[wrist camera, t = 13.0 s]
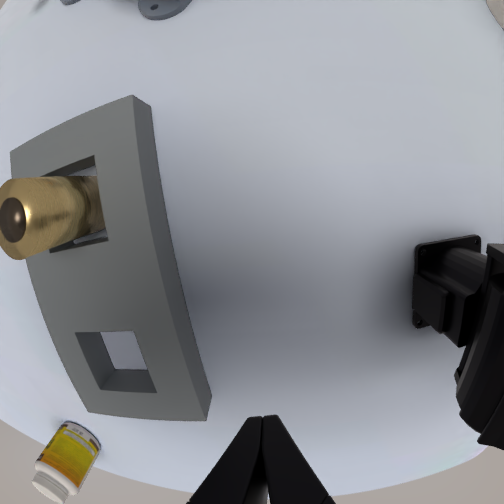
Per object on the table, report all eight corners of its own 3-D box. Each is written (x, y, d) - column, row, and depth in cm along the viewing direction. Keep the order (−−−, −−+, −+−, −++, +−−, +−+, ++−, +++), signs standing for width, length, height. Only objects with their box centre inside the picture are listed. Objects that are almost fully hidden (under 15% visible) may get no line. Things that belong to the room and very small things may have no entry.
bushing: (111, 169, 17) (28, 167, 9) (120, 226, 18) (43, 254, 10) (68, 183, 18) (-14, 191, 10) (77, 235, 19) (-1, 265, 11)
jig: (150, 106, 16) (132, 94, 13) (211, 395, 21) (206, 421, 18) (34, 152, 17) (9, 151, 14) (101, 392, 22) (88, 412, 19)
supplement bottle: (62, 412, 23) (21, 469, 13) (103, 437, 24) (69, 501, 14) (63, 434, 25) (29, 486, 15) (100, 456, 25) (71, 513, 15)
